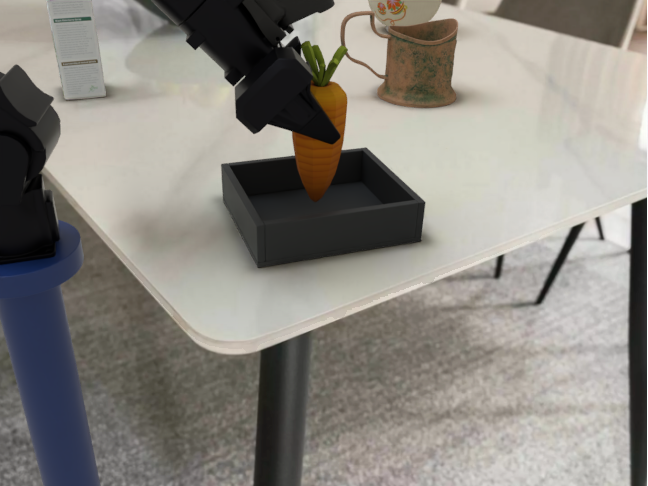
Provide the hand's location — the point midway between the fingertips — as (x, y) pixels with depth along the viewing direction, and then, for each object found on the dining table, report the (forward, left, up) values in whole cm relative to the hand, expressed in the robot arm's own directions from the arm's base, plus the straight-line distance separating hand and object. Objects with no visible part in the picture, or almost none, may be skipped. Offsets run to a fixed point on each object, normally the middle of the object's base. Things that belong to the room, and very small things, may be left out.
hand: (332, 130), depth 61 cm
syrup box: (-20, +46, -9) cm, 51 cm away
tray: (-1, 0, -9) cm, 9 cm away
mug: (+23, +33, -9) cm, 41 cm away
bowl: (+42, +71, -9) cm, 83 cm away
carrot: (-1, 0, -7) cm, 7 cm away
